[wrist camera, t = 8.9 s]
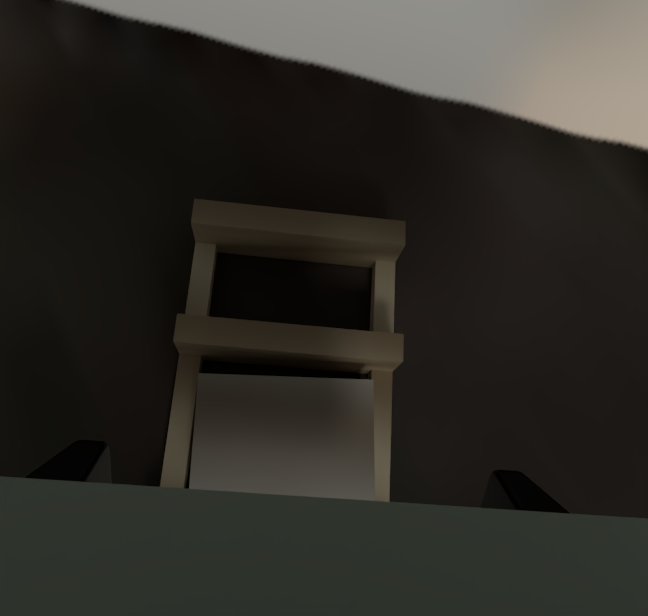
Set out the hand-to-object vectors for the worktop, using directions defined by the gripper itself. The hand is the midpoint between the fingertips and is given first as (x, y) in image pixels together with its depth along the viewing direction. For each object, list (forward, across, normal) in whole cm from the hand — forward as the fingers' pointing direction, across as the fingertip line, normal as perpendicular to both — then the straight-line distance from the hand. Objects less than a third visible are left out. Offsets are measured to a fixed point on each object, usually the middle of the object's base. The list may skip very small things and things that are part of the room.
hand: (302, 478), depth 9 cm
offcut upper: (+10, 0, +7) cm, 12 cm away
